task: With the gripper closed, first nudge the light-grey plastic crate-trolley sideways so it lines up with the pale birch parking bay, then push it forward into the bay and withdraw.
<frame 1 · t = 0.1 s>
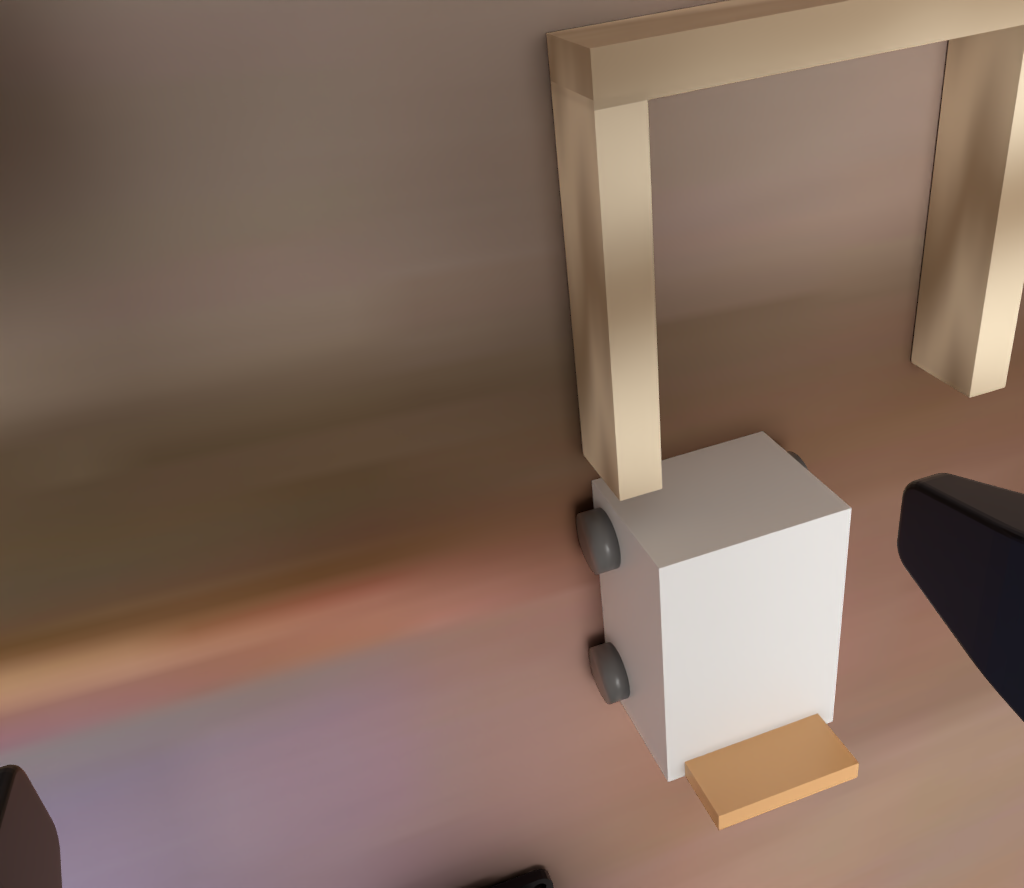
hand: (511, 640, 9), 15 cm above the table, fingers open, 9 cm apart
trolley: (679, 559, 30), on the table
bay: (777, 237, 26), on the table
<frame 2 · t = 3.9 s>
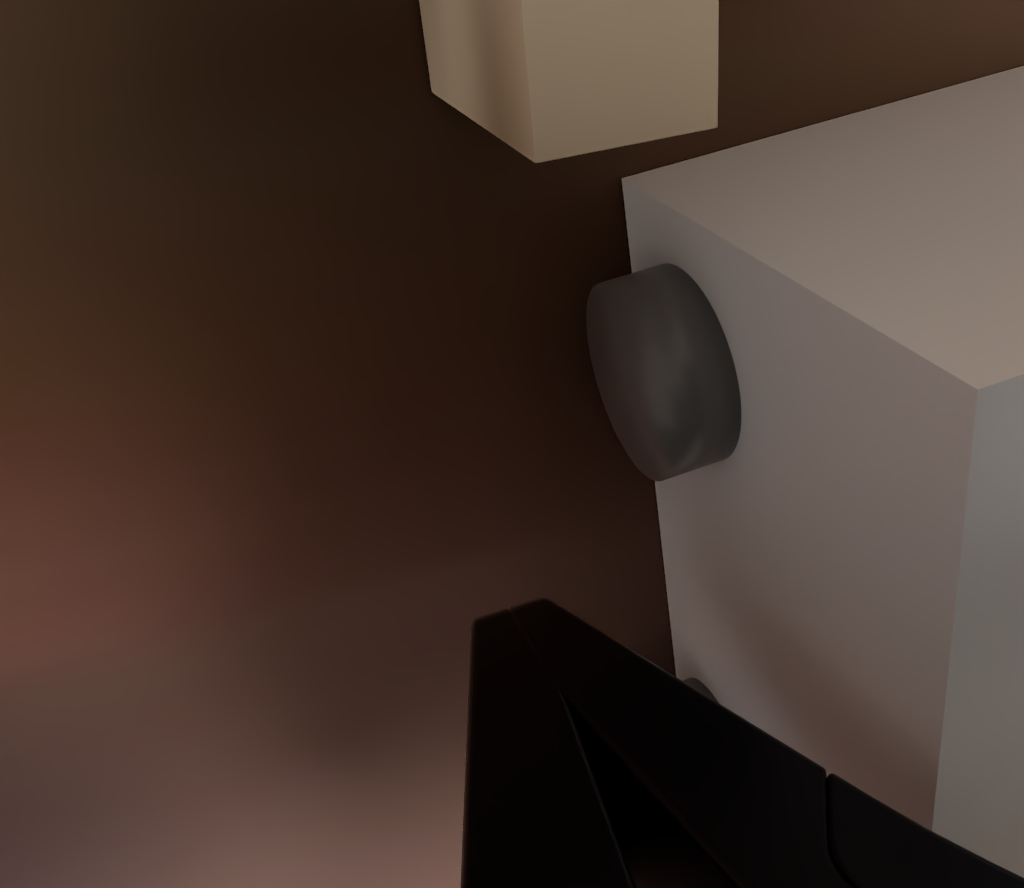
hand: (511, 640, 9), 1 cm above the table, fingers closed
trolley: (872, 451, 11), on the table, touching gripper
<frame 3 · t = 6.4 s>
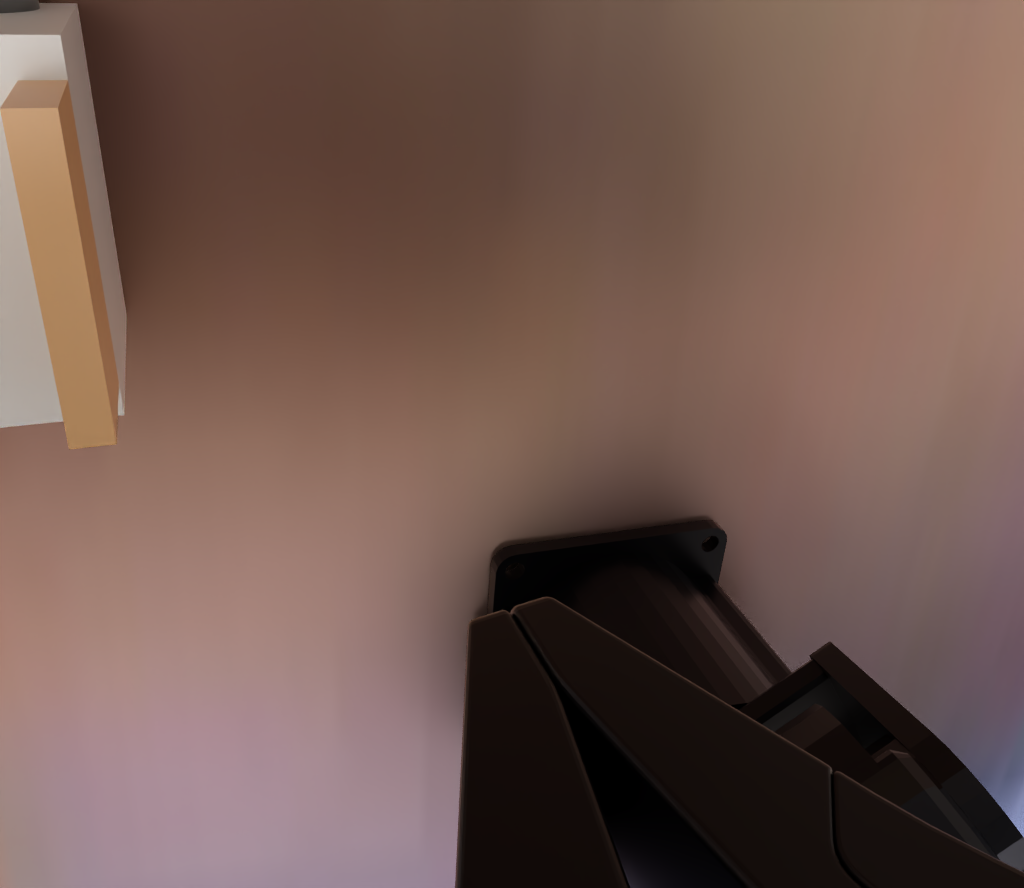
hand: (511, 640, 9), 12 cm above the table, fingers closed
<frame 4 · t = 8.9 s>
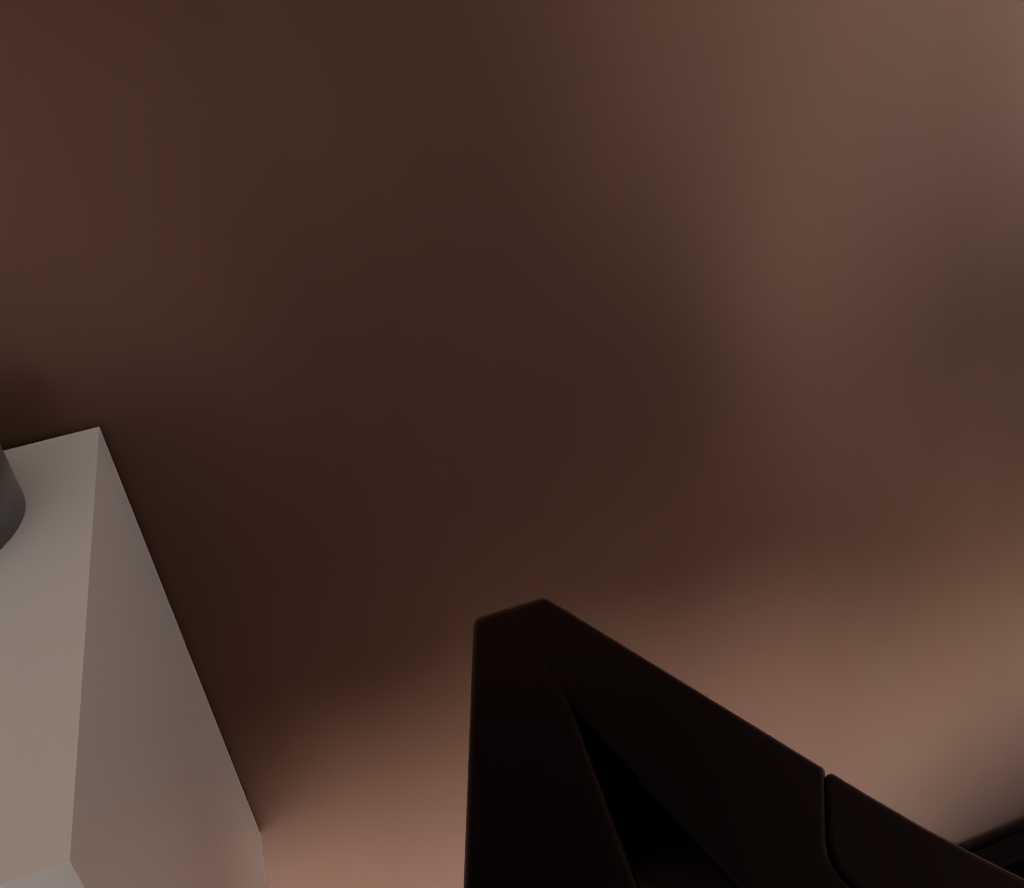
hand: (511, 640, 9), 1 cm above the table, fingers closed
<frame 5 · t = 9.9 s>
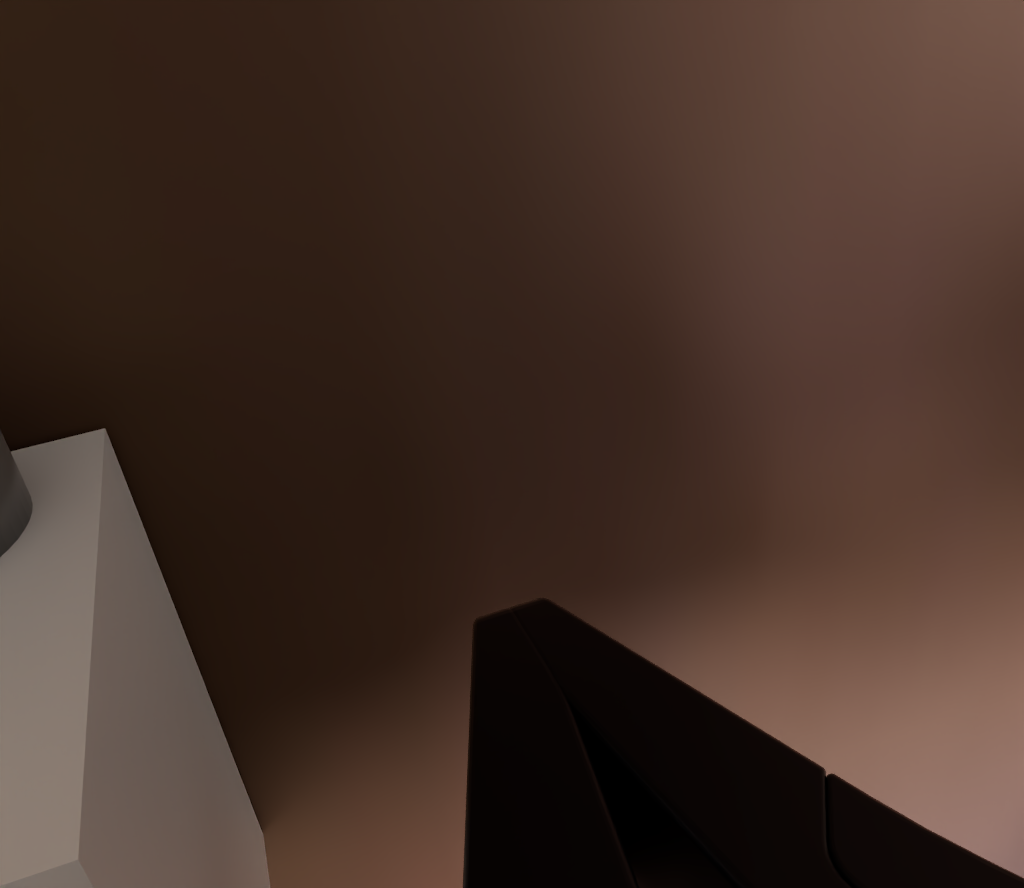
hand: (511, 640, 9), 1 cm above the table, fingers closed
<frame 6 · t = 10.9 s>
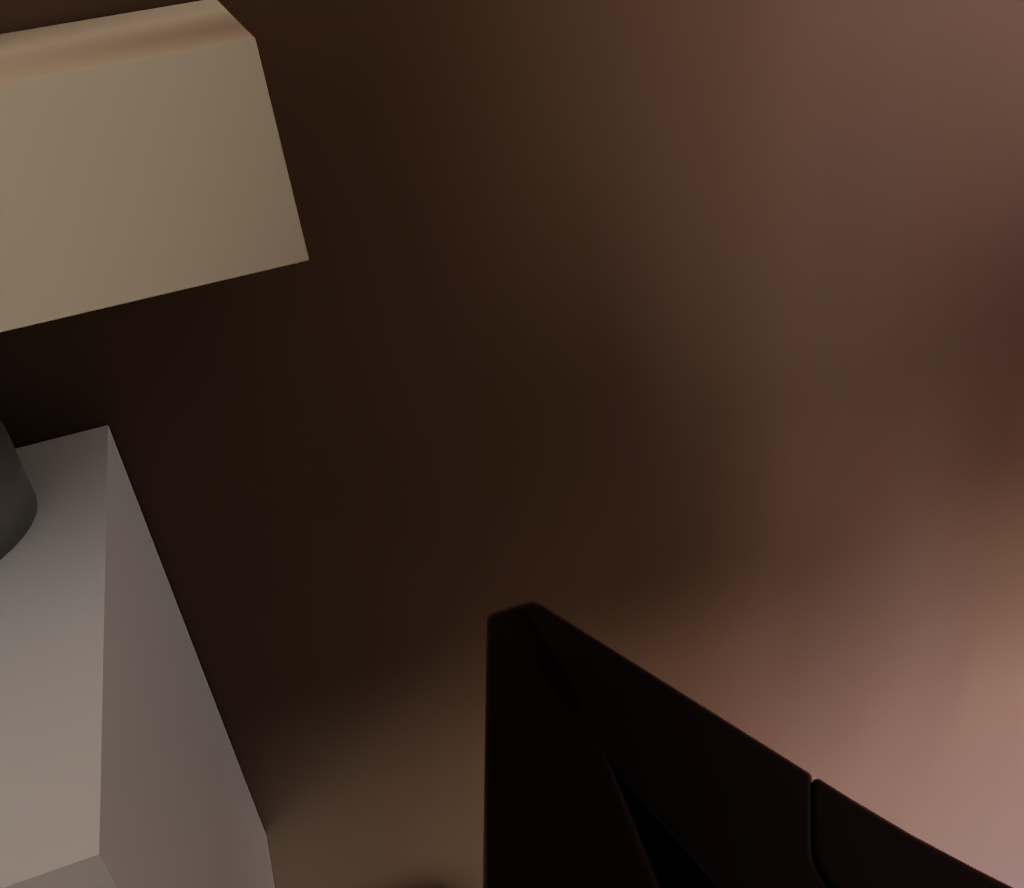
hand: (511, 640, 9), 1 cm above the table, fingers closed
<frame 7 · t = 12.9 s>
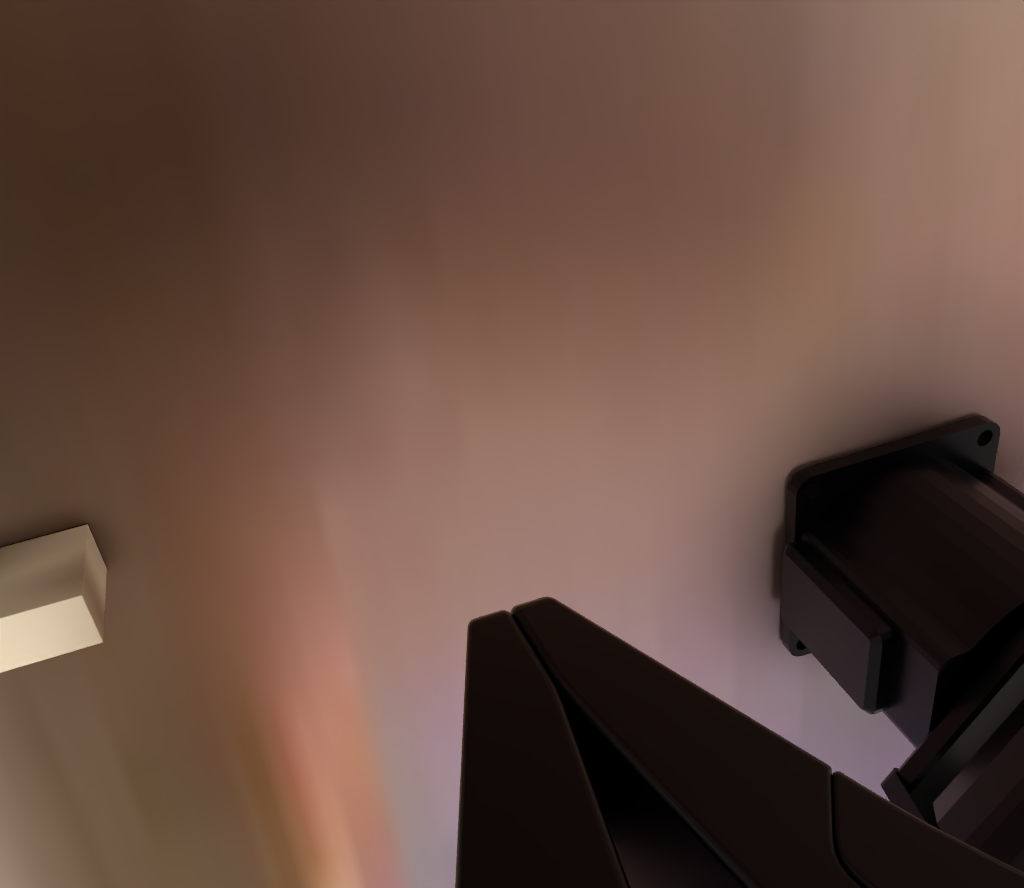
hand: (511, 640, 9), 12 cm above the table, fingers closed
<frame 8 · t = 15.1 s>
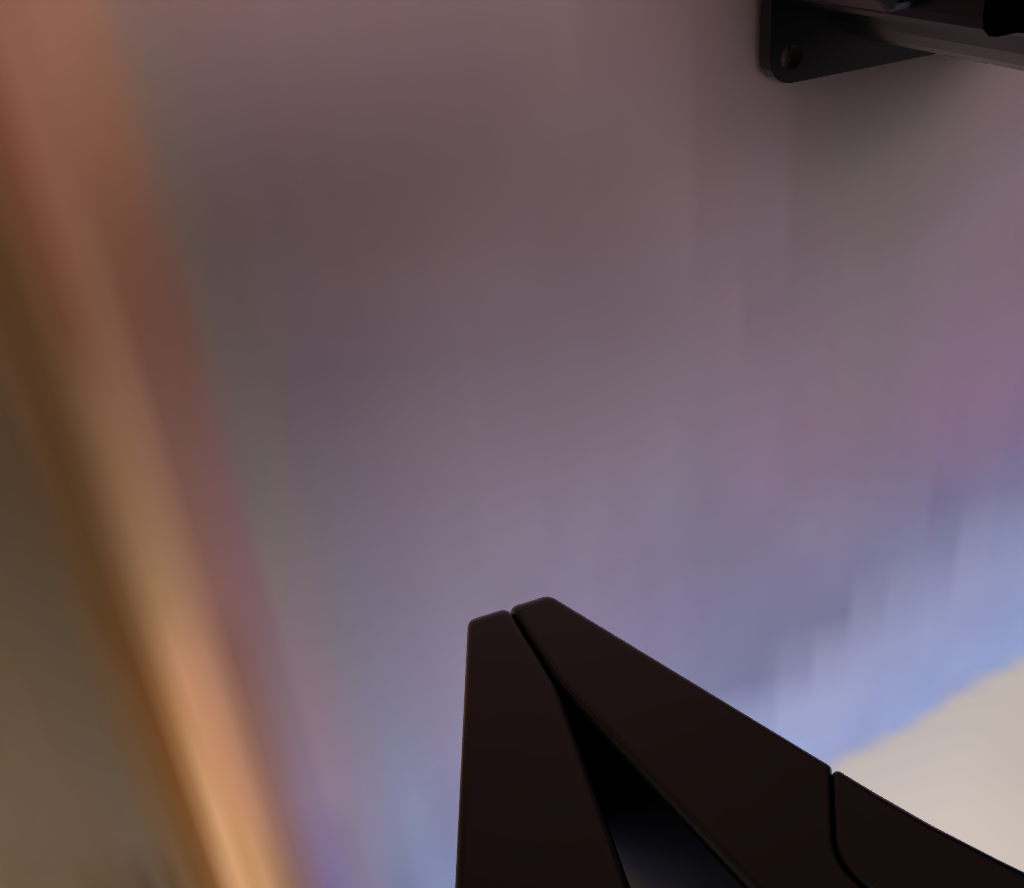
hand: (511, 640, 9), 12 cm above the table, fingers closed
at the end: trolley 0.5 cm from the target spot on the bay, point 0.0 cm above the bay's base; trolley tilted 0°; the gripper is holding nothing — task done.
